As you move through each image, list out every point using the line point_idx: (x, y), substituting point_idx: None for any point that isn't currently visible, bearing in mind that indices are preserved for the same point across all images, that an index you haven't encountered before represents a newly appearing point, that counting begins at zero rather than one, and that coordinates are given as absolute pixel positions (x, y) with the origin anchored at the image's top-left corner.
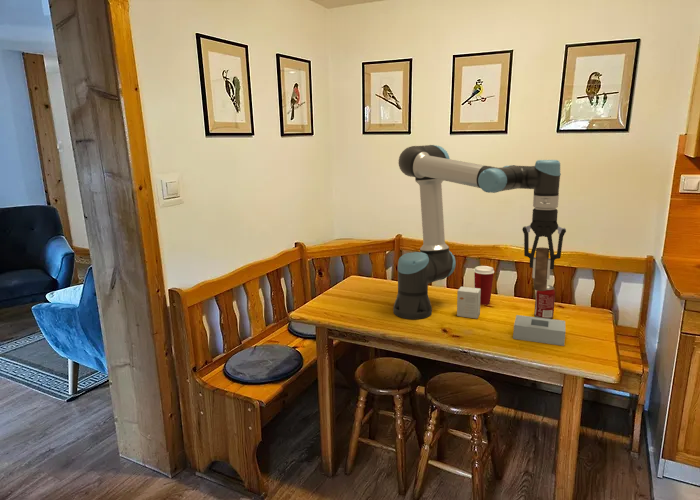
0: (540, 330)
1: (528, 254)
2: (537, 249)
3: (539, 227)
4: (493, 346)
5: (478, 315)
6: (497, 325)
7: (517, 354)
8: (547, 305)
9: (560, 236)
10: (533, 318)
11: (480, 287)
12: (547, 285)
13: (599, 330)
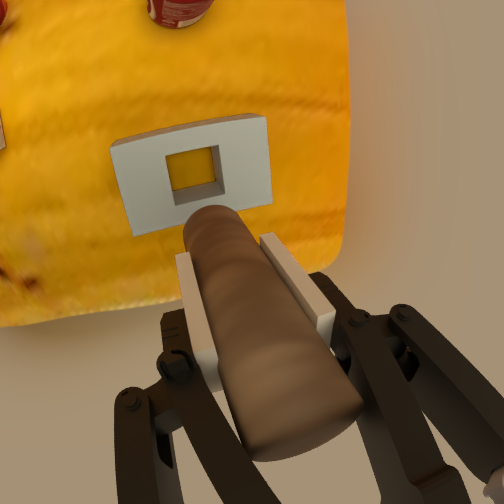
0: None
1: (170, 425)
2: (262, 460)
3: None
4: (116, 284)
5: (1, 132)
6: (66, 155)
7: (174, 289)
8: (196, 13)
9: (478, 466)
10: (168, 146)
11: None
12: None
13: (329, 50)
